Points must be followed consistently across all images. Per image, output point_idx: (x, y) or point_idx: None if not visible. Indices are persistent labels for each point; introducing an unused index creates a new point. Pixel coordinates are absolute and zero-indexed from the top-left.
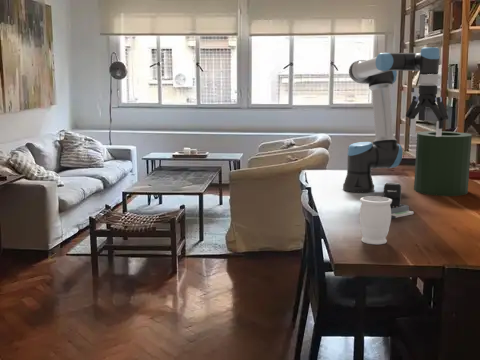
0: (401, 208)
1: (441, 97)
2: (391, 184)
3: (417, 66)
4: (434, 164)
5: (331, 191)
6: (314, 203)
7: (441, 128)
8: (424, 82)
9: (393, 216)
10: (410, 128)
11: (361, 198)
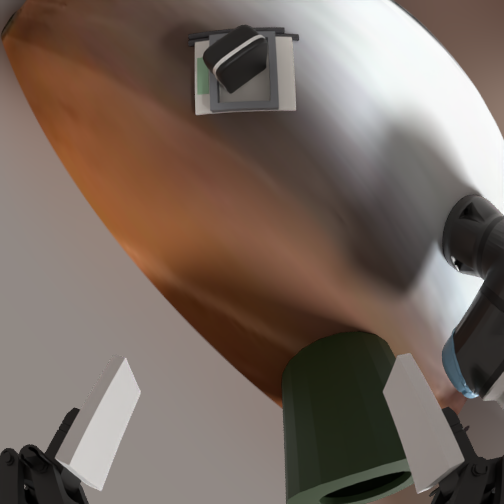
0: (210, 81)
1: None
2: (227, 35)
3: None
4: (343, 396)
5: (490, 166)
6: (421, 25)
7: (76, 414)
8: None
9: (191, 40)
10: (426, 387)
11: None
